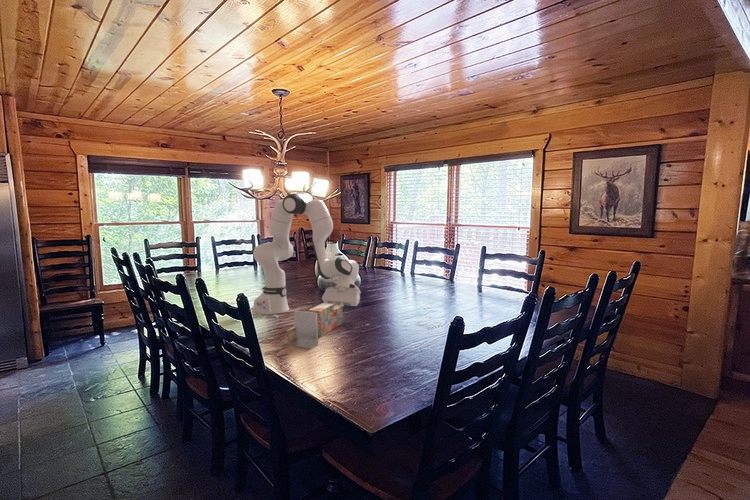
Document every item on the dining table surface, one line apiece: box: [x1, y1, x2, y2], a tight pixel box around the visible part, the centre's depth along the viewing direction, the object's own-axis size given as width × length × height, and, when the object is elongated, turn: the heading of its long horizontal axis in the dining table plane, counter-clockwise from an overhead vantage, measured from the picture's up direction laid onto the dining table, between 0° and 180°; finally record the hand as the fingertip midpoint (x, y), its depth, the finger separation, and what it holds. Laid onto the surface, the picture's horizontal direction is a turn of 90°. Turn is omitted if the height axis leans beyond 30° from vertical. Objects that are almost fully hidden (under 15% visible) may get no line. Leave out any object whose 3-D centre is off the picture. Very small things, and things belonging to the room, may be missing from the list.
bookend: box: [288, 309, 319, 350], centre depth 168 cm, size 11×6×14 cm, turn 67°
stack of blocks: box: [308, 302, 344, 337], centre depth 189 cm, size 21×6×12 cm, turn 157°
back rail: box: [286, 325, 295, 344], centre depth 185 cm, size 2×32×6 cm, turn 157°
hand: (336, 310), depth 200 cm, fingers closed
